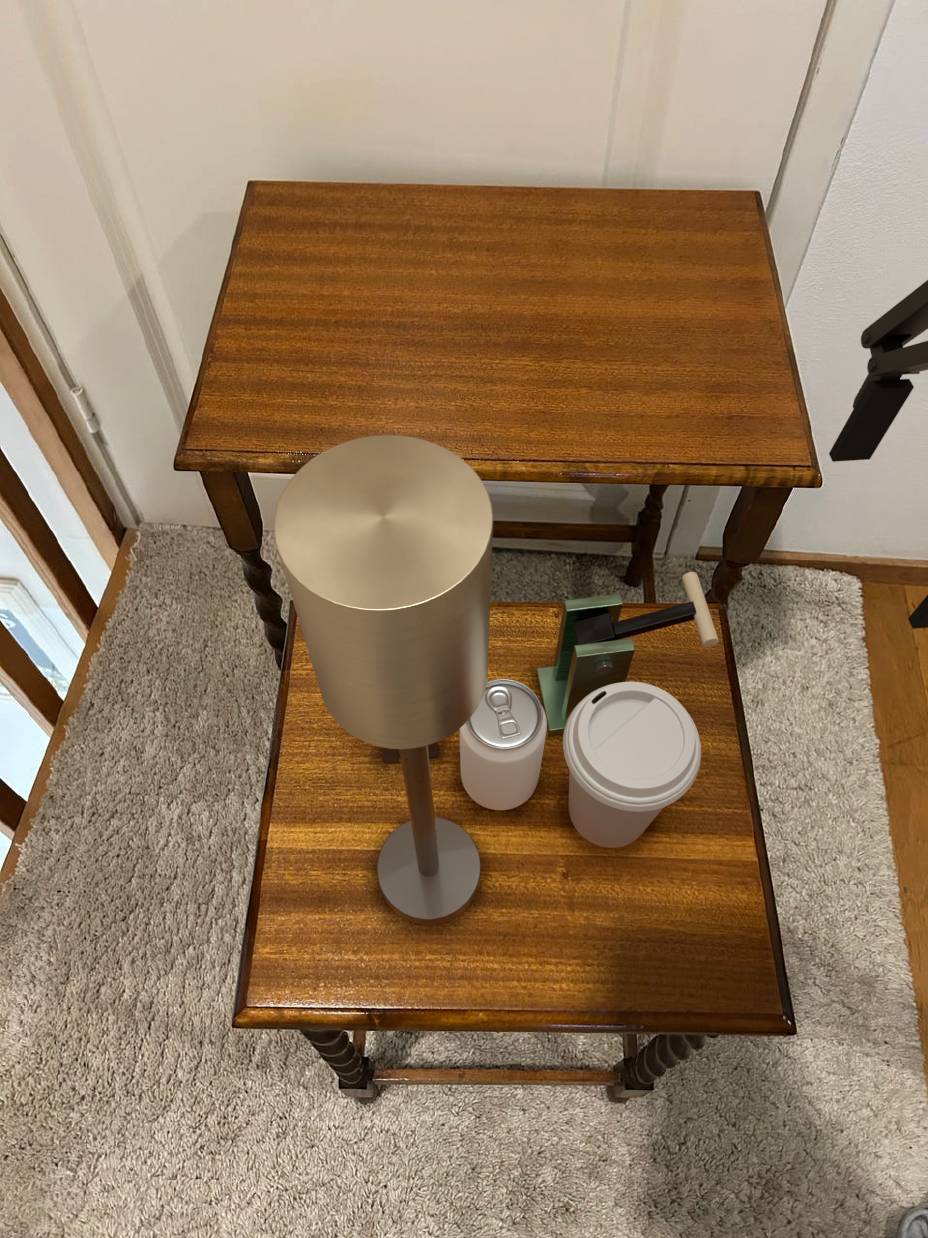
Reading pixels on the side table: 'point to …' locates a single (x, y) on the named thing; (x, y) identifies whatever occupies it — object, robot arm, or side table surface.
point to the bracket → (582, 661)
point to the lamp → (397, 629)
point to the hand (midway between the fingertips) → (887, 534)
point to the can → (503, 746)
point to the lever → (653, 619)
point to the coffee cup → (627, 760)
